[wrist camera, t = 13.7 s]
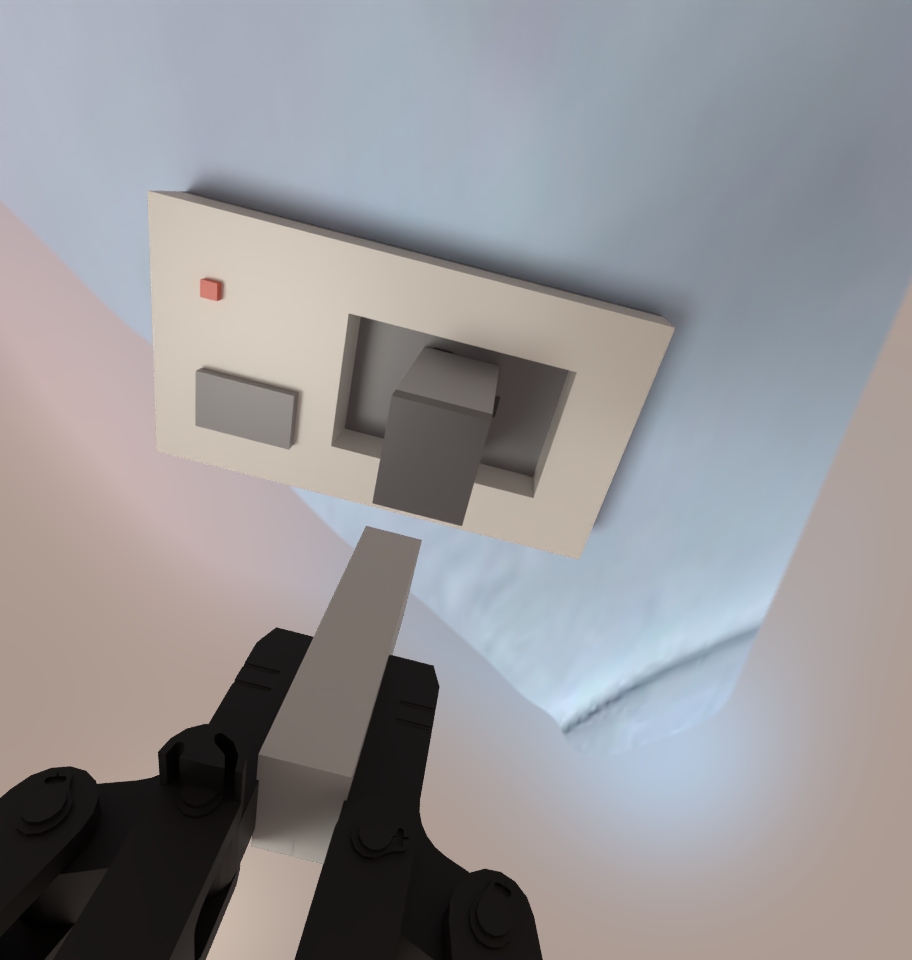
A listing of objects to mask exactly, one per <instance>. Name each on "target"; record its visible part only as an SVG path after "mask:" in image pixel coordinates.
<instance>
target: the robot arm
mask: <svg viewBox="0 0 912 960" xmlns="http://www.w3.org/2000/svg"><path fill="white" fill-rule="evenodd" d="M421 541H422V540H420V539H416V538H412V537H408V536H404V535H400V534H396V533H392V532H388V531H384V530H380V529H376V528H372V527H369V526H366V527H365V529H364V531H363V534H362V536H361V538H360V540H359V542H358V544H357V546H356V548H355V551H354V553H353V555H352V557H351V559H350V561H349V563H348V565H347V568H346V570H345V572H344V574H343V576H342V578H341V580H340V582H339V585H338V587H337V589H336V591H335V593H334V595H333V597H332V599H331V601H330V604H329V606H328V608H327V610H326V612H325V614H324V616H323V618H322V621H321V623H320V625H319V627H318V629H317V631H316V633H315V636H314V637H311V636H308V635H304V634H300V633H296V632H292V631H288V630H285V629H280V628H275V629H274V630H272V631H271V632H270V633H268V634H267V635H266V636H265V637H263V638H262V639H261V640H259V641H258V642H257V643H256V645H255V646H254V648H253V650H252V652H251V653H250V655H249V657H248V658H247V660H246V662H245V664H244V667H242V669H241V670H240V672H239V674H238V675H237V677H236V679H235V682H234V683H233V684H232V686H231V687H230V689H229V690H228V692H227V694H226V695H225V697H224V699H223V701H222V702H221V704H220V706H219V707H218V709H217V711H216V713H215V714H214V716H213V717H212V719H211V721H210V723H209V724H203V725H200V726H195V727H191V728H187V729H185V730H184V731H182V732H180V733H179V734H177V735H175V736H174V737H172V738H171V739H170V740H169V741H168V742H167V743H166V744H165V745H164V746H163V747H162V748H161V750H160V751H159V752H158V757H159V758H158V759H159V773H160V775H157V776H155V777H152V778H148V779H143V780H137V781H127V782H115V783H103V784H96V781H95V780H94V779H93V778H92V777H91V776H90V774H89V773H88V772H87V771H85V770H81V769H77V768H74V767H71V766H70V767H57V768H50V769H47V770H45V771H42V772H39V773H37V774H34V775H31V776H29V777H28V778H27V779H25V780H23V781H22V782H21V783H19V784H18V785H16V786H14V787H13V788H12V789H10V790H9V791H8V792H7V793H6V794H4V795H3V796H2V797H1V798H0V960H206V957H207V955H208V953H209V950H210V948H211V945H212V943H213V940H214V938H215V936H216V933H217V931H218V928H219V926H220V923H221V921H222V919H223V916H224V914H225V911H226V909H227V906H228V904H229V902H230V899H231V897H232V894H233V892H234V889H235V887H236V884H237V880H238V875H239V871H240V862H241V860H242V858H243V855H244V853H245V850H246V848H247V846H248V843H249V841H250V839H251V836H252V842H251V846H252V847H256V848H260V849H264V850H268V851H272V852H276V853H280V854H284V855H288V856H292V857H296V858H300V859H304V860H308V861H312V862H316V863H320V864H323V867H322V870H321V874H320V877H319V880H318V884H317V887H316V890H315V894H314V897H313V900H312V904H311V907H310V910H309V914H308V917H307V921H306V923H305V927H304V930H303V933H302V937H301V940H300V943H299V947H298V950H297V954H296V957H295V960H543V959H542V954H541V949H540V944H539V939H538V934H537V930H536V924H535V919H534V915H533V913H532V910H531V907H530V904H529V902H528V899H527V897H526V895H525V894H524V893H523V891H522V890H521V889H520V888H519V886H518V885H517V884H516V882H515V881H513V880H512V879H510V878H509V877H507V876H506V875H504V874H503V873H501V872H498V871H493V870H488V869H482V870H479V871H475V872H471V873H469V872H468V871H466V870H465V869H463V868H462V867H460V866H459V865H458V864H456V863H455V862H453V861H452V860H450V859H449V858H447V857H446V856H445V855H443V854H442V853H441V852H440V851H439V850H438V849H437V848H435V847H434V845H433V844H432V842H431V841H430V840H429V838H428V837H427V835H426V833H425V831H424V828H423V826H422V823H421V818H420V812H419V810H420V797H421V791H422V785H423V779H424V773H425V767H426V762H427V756H428V750H429V744H430V738H431V733H432V727H433V721H434V715H435V709H436V704H437V698H438V692H439V684H438V680H437V677H436V673H435V669H434V666H433V665H428V664H425V663H420V662H417V661H413V660H409V659H404V658H401V657H397V656H393V655H392V654H393V651H394V647H395V644H396V640H397V637H398V633H399V630H400V626H401V623H402V619H403V616H404V611H405V607H406V603H407V599H408V595H409V591H410V587H411V583H412V578H413V574H414V570H415V566H416V562H417V558H418V554H419V549H420V545H421Z"/></svg>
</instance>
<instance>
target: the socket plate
mask: <svg viewBox="0 0 912 960" xmlns="http://www.w3.org/2000/svg"><path fill="white" fill-rule="evenodd" d="M148 212H149V241H150V269H151V298H152V326H153V353H154V382H155V408H156V409H155V411H156V438H157V452H161V453H165V454H169V455H173V456H177V457H181V458H185V459H188V460H193V461H197V462H200V463H204V464H208V465H212V466H216V467H220V468H224V469H228V470H231V471H235V472H239V473H243V474H247V475H251V476H255V477H259V478H263V479H267V480H271V481H274V482H278V483H282V484H286V485H290V486H294V487H298V488H302V489H306V490H310V491H313V492H317V493H321V494H325V495H329V496H333V497H337V498H341V499H345V500H349V501H353V502H356V503H360V504H364V505H368V506H372V507H376V508H380V509H384V510H388V511H392V512H395V513H399V514H403V515H407V516H411V517H415V518H419V519H423V520H427V521H431V522H435V523H438V524H442V525H446V526H450V527H454V528H458V529H462V530H466V531H470V532H474V533H478V534H481V535H485V536H489V537H493V538H497V539H501V540H505V541H509V542H513V543H517V544H520V545H524V546H528V547H532V548H536V549H540V550H544V551H548V552H552V553H556V554H560V555H563V556H567V557H571V558H575V559H579V558H580V556H581V554H582V551H583V549H584V546H585V544H586V542H587V539H588V537H589V534H590V532H591V530H592V527H593V525H594V522H595V520H596V518H597V515H598V513H599V510H600V508H601V506H602V503H603V501H604V498H605V496H606V494H607V491H608V489H609V486H610V484H611V482H612V479H613V477H614V474H615V472H616V470H617V467H618V465H619V462H620V460H621V458H622V455H623V453H624V450H625V448H626V446H627V443H628V441H629V438H630V436H631V434H632V431H633V429H634V426H635V424H636V422H637V419H638V417H639V414H640V412H641V410H642V407H643V405H644V402H645V400H646V398H647V395H648V393H649V390H650V388H651V386H652V383H653V381H654V378H655V376H656V374H657V371H658V369H659V366H660V364H661V362H662V359H663V357H664V354H665V352H666V350H667V347H668V345H669V342H670V340H671V338H672V335H673V333H674V330H675V327H674V326H673V325H671V324H670V323H669V322H668V321H667V320H666V319H664V318H663V317H662V316H661V315H658V314H654V313H650V312H646V311H642V310H638V309H635V308H631V307H627V306H623V305H619V304H615V303H611V302H608V301H604V300H600V299H596V298H592V297H588V296H585V295H581V294H577V293H573V292H569V291H565V290H562V289H558V288H554V287H550V286H546V285H542V284H538V283H535V282H531V281H527V280H523V279H519V278H515V277H512V276H508V275H504V274H500V273H496V272H492V271H488V270H485V269H481V268H477V267H473V266H469V265H465V264H462V263H458V262H454V261H450V260H446V259H442V258H439V257H435V256H431V255H427V254H423V253H419V252H415V251H412V250H408V249H404V248H400V247H396V246H392V245H389V244H385V243H381V242H377V241H373V240H369V239H365V238H362V237H358V236H354V235H350V234H346V233H342V232H339V231H335V230H331V229H327V228H323V227H319V226H316V225H312V224H308V223H304V222H300V221H296V220H292V219H289V218H285V217H281V216H277V215H273V214H269V213H266V212H262V211H258V210H254V209H250V208H246V207H242V206H239V205H235V204H231V203H227V202H223V201H219V200H216V199H212V198H208V197H204V196H200V195H196V194H193V193H189V192H182V191H148ZM424 347H428V348H432V349H436V350H439V351H443V352H447V353H451V354H455V355H459V356H463V357H467V358H470V359H474V360H478V361H482V362H486V363H490V364H494V365H498V366H499V372H498V379H497V386H496V393H495V400H494V407H493V414H492V421H491V425H490V428H489V432H488V435H487V439H486V443H485V446H484V450H483V453H482V457H481V460H480V464H479V468H478V471H477V475H476V478H475V482H474V485H473V489H472V493H471V496H470V500H469V503H468V507H467V510H466V514H465V518H464V521H463V525H462V526H459V525H455V524H451V523H447V522H443V521H439V520H435V519H432V518H428V517H424V516H420V515H416V514H412V513H408V512H404V511H400V510H396V509H392V508H389V507H385V506H381V505H377V504H373V503H372V501H373V496H374V490H375V485H376V479H377V474H378V468H379V463H380V457H381V452H382V446H383V441H384V435H385V430H386V424H387V419H388V413H389V408H390V402H391V397H392V394H393V393H394V392H395V390H396V389H397V387H398V386H399V384H400V383H401V381H402V380H403V378H404V377H405V375H406V374H407V372H408V371H409V369H410V368H411V366H412V365H413V363H414V362H415V360H416V359H417V357H418V356H419V354H420V353H421V351H422V350H423V348H424Z"/></svg>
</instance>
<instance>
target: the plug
mask: <svg viewBox="0 0 912 960" xmlns="http://www.w3.org/2000/svg"><path fill="white" fill-rule="evenodd" d="M498 372H499V366H498V365H494V364H490V363H486V362H482V361H478V360H474V359H470V358H467V357H463V356H459V355H455V354H451V353H447V352H443V351H439V350H436V349H432V348H428V347H424V348H423V350H422V351H421V353H420V354H419V356H418V357H417V359H416V360H415V362H414V363H413V365H412V366H411V368H410V369H409V371H408V372H407V374H406V375H405V377H404V378H403V380H402V381H401V383H400V384H399V386H398V387H397V389H396V390H395V392H394V393H393V394H392V397H391V402H390V408H389V413H388V419H387V424H386V430H385V435H384V441H383V446H382V452H381V457H380V463H379V468H378V474H377V479H376V485H375V490H374V496H373V501H372V503H373V504H377V505H381V506H385V507H389V508H392V509H396V510H400V511H404V512H408V513H412V514H416V515H420V516H424V517H428V518H432V519H435V520H439V521H443V522H447V523H451V524H455V525H459V526H462V525H463V521H464V518H465V514H466V510H467V507H468V503H469V500H470V496H471V493H472V489H473V485H474V482H475V478H476V475H477V471H478V468H479V464H480V460H481V457H482V453H483V450H484V446H485V443H486V439H487V435H488V432H489V428H490V425H491V421H492V414H493V407H494V400H495V393H496V386H497V379H498Z"/></svg>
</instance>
